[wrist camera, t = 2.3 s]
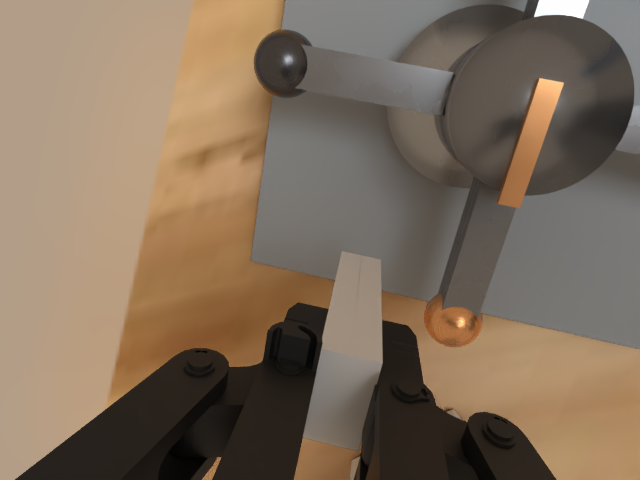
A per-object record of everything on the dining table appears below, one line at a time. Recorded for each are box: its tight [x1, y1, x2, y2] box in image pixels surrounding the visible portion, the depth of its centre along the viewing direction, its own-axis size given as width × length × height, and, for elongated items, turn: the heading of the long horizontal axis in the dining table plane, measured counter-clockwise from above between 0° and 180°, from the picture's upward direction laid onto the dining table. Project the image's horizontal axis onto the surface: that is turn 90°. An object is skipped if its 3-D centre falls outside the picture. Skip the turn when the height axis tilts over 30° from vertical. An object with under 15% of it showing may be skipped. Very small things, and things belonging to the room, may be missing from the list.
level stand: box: [251, 0, 640, 349], centre depth 21 cm, size 24×21×4 cm
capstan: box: [254, 0, 640, 347], centre depth 18 cm, size 22×22×6 cm
